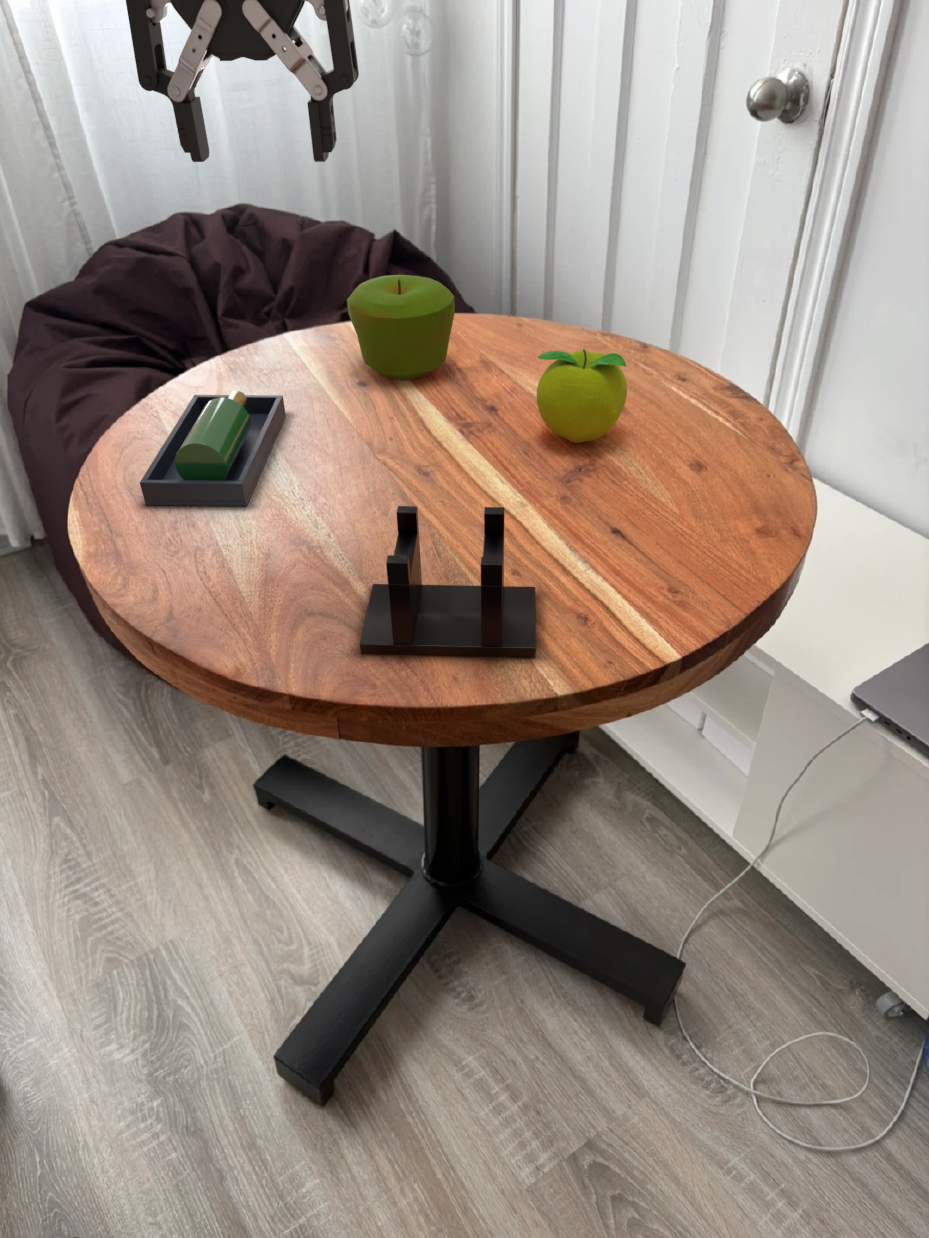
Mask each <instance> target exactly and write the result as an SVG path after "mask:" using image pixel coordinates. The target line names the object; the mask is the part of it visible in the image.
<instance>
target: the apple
mask: <svg viewBox="0 0 929 1238" xmlns="http://www.w3.org/2000/svg"><path fill="white" fill-rule="evenodd" d="M455 303H456V302H455V295H454V294H453V293H452V292H451V290H450V289H449V288H447V287H446V286H445V285H443V284H442V283H441V282H440V281H438V280H435V279H433V278H431V277H426V276H419V275H410V274H409V275H408V274H391V275H390V274H389V275H381V276H378V277H374V278H371V279H370V278H369V279H368V280H366V281H363V282H361V283H359V284H358V286H357V287H356V288H355V289H354V291H352V293H351V294H350V295H349V297H347V299H346V305H347V312H348V316H349V320H350V321H351V325H352V326H353V328H354V331H355V334H356V336H357V341H358V344H359V345H358V346H359V349H360V353H361V357H362V360H363V362H364V364H365V366H367V367H368V368H370V369H371V370H373V371H375V372H376V373H377V374H379V375H381V376H382V377H383V378H387V379H390V380H393V381H394V380H395V381H403V382H404V381H415V380H418V379H419V378H422V377H425V376H427V375H428V374H429V373H431V372H432V371H434V370H436V369H438V368H439V367H440V366H442V365H443V364H445V363H446V360H447V355H448V349H449V344H450V339H451V333H452V329H453V323H454V319H455V314H456V304H455Z"/></svg>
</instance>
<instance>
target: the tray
mask: <svg viewBox="0 0 929 1238" xmlns="http://www.w3.org/2000/svg"><path fill="white" fill-rule="evenodd" d="M229 395H230V394H193V396H192V397H191V399H190V401H189V403H188V404H187V405H186V407H185V409H184V410H183V412H182V413H181V415H180V417H179V419H178V420H177V422H176V423H175V425H174V427H173V428H172V430H171V431H170V433H169V435H168V436H167V438H166V440H165V441H164V443H163V444H162V446H161V447H160V449H159V450H158V452H157V454H156V455H155V457H154V459H153V460H152V462H151V464H150V465H149V466H148V468H147V470H146V471H145V473H144V475H143V476H142V477H141V480H140V481H139V485H140V489H141V493H142V496H143V500H144V503H145V506H188V507H189V506H190V507H192V506H194V507H195V506H197V507H198V506H200V507H247V506H248V504H249V502H250V500H251V498H252V495H253V493H254V490H255V487H256V485H257V483H258V481H259V479H260V476H261V475H262V472H263V470H264V467H265V465H266V463H267V460H268V458H269V456H270V454H271V451H272V449H273V447H274V444H275V442H276V440H277V437H278V436H279V433H280V431H281V428H282V426H283V424H284V421H285V419H286V417H287V413H286V408H285V402H284V396H283V395H281V394H280V395H279V394H278V395H277V394H276V395H275V394H274V395H272V394H271V395H270V394H268V395H267V394H266V395H265V394H245V396H246V398H247V403H246V405H245V407H244V408H245V409H246V411H247V412H248V414H249V416H250V420H251V428H250V431H249V433H248V435H247V437H246V439H245V441H244V443H243V445H242V447H241V449H240V451H239V453H238V455H237V457H236V460H235V462H234V464H233V466H232V468H231V470H230V472H229V474H228V476H227V478H226V480H225V481H199V480H183V479H182V478H181V476H180V475H179V474H178V472H177V470H176V466H175V457H176V454H177V452H178V450H179V449H180V447H181V445H182V444H183V442H184V440H185V439H186V437H187V435H188V434H189V432H190V430H191V429H192V427H193V425H194V424H195V422H196V420H197V418H198V417H199V415H200V413H201V412H202V410H203V408H204V407H205V405H206V404H207V403H208V402H209V401H211V400H213V399H215V398H228V397H229Z"/></svg>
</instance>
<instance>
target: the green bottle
mask: <svg viewBox="0 0 929 1238" xmlns="http://www.w3.org/2000/svg"><path fill="white" fill-rule="evenodd" d="M228 395H229V397H228V398H215V399H213V400H211V401H209V402H208V403H207V404H206V405H205V407H204V408H203V410H202V412H201V413H200V415H199V417H198V418H197V420H196V422H195V424H194V425H193V427H192V429H191V430H190V432H189V434H188V435H187V437H186V439H185V440H184V442H183V444H182V445H181V447H180V449H179V450H178V452H177V454H176V457H175V466H176V470H177V472H178V474H179V475H180V476H181V478H182V479H183V480H199V481H225V480H226V478H227V476H228V474H229V472H230V470H231V468H232V466H233V464H234V462H235V460H236V457H237V455H238V453H239V451H240V449H241V447H242V445H243V443H244V441H245V439H246V437H247V435H248V433H249V431H250V428H251V420H250V416H249V414H248V412H247V411H246V409H245V408H244V407H245V405H246V403H247V398H246V396H245V395H246V394H245V393H244V392H242V391H240V390H233V391H231V392H230V393H229V394H228Z"/></svg>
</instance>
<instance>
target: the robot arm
mask: <svg viewBox="0 0 929 1238" xmlns="http://www.w3.org/2000/svg"><path fill="white" fill-rule="evenodd" d="M306 2H307V3H309V4H310V5H311V6H312V7H313V10H314V13H315V15H316V17H317V18H318V19H319V20H321V21H323V22H326V26H327V33H328V40H329V46H330V53H331V54H330V55H331V60H332V67H333V69H331V70H328V71H327V70H326V68H324V66H323V65H322V63H321V62H320V60H319V59H318V58H317V57H316V56H315V54H314V51H313V49H312V48H311V46H310V44H309V43H308V41H306V40H305V38H304V36H303V35H302V34H301V33H300V31H299V30H298V29H297V27H296V26H295V24H296V22H297V20H298V18H299V16H300V13H301V12H302V9H303V7H304V6H305V3H306ZM170 4H171V6H172V7H173V9H174V10H175V12H176V13H177V14H178V15H179V17H180V18H181V20H183V22H184V23H185V24H186V25H187V27H188V28H189V30H191V31H190V32H189V35H188V37H187V39H186V41H185V43H184V46H183V48H182V50H181V52H180V55H179V58H178V62H177V65H176V67H175V70H174V71H172V70H169V69H168V66H167V60H166V53H165V47H164V45H165V44H164V39H163V38H164V37H163V31H162V25H161V22H163V21H165V20H166V19H167V16H168V7H169V5H170ZM350 4H351V1H350V0H125V5H126V10H127V18H128V24H129V29H130V36H131V41H132V48H133V54H134V62H135V67H136V68H135V69H136V74H137V79H138V80H137V81H138V83H139V85H140V87H141V88H142V89H143V90H144V91H146V92H155V93H158V94H161V95H163V96H165V97H167V99H168V100H169V101H170V103H171V105H172V108H173V114H174V118H175V125H176V129H177V134H178V139H179V145H180V147H181V149H182V150H183V153H185V154H189V155H190V158H191V161H192V163H204V162H205V161H207V160H208V158H210V146H209V140H208V135H207V129H206V124H205V118H204V113H203V107H202V106H203V105H202V101H201V97H200V96H196V92H195V91H196V90H197V87H198V85H199V83H200V81H201V79H202V77H203V74H204V73H205V70H206V69H207V67H208V66H209V64H210V62H211V60H212V59H213V57H215V58H217V59H218V60H219V62H233V61H235V60H238V59H242V58H245V59H249V60H251V61H259V62H260V61H261V62H262V61H268V60H270V59H271V58H273V57H275V56H277V57H278V59H279V60H280V61H281V63H282V64H283V65H284V67H285V68H286V69H287V70H288V71H289V72H290V73H291V74H293V75H294V76H295V77H296V78H297V80H298V81H299V82H300V84H301V85H302V86H303V87H304V89H305V90H306V92H307V93H308V94H309V95H310V99H309V100H308V102H306V103H307V111H308V113H307V114H308V120H309V129H310V130H309V131H310V138H311V147H312V154H313V155H312V156H313V161H314V163H325V162H326V161H327V160H328V158H329V155H330V153H332V152H333V151H334V149H335V148H336V143H337V140H338V138H337V129H336V118H335V109H334V108H335V107H334V96H335V95H336V94H337V93H340V92H342V91H345V90H346V91H347V90H349V89H351V88H352V87H353V85H354V83H355V82H356V81H357V80H358V79H359V76H360V71H359V70H360V69H359V64H358V63H359V62H358V56H357V55H358V54H357V48H356V41H355V33H354V26H353V25H354V24H353V18H352V10H351V5H350Z"/></svg>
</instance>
